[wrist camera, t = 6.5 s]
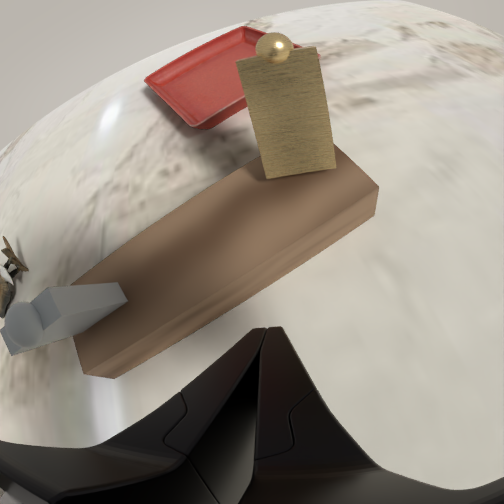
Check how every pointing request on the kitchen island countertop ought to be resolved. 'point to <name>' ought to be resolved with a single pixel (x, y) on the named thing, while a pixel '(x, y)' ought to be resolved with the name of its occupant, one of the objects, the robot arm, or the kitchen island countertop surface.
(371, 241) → the kitchen island countertop surface
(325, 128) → the brass lever
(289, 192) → the walnut panel
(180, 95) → the plant saucer
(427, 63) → the kitchen island countertop surface
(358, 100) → the kitchen island countertop surface
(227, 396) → the robot arm
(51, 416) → the kitchen island countertop surface
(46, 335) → the slate lever
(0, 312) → the eagle figurine
